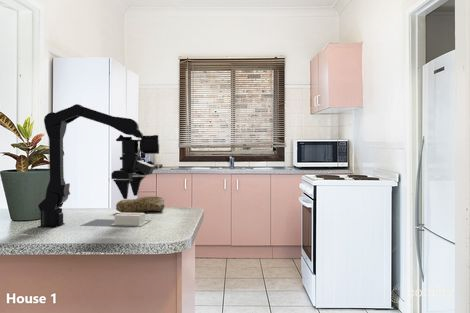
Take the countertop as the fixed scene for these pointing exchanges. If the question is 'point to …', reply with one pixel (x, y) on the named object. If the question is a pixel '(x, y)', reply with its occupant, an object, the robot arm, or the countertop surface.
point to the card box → (130, 218)
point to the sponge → (140, 205)
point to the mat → (111, 223)
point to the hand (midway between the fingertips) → (130, 197)
